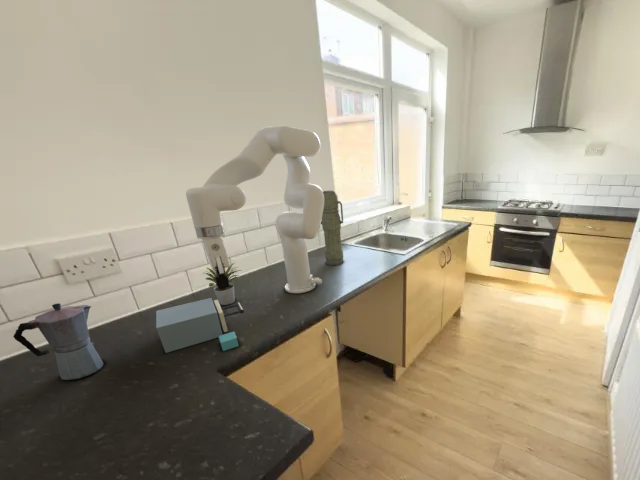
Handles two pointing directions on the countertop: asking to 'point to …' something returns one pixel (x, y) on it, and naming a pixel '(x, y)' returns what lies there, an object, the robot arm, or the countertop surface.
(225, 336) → the teal block
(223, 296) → the house plant
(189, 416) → the countertop surface
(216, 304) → the drawer
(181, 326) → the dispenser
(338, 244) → the thermos
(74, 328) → the moka pot
